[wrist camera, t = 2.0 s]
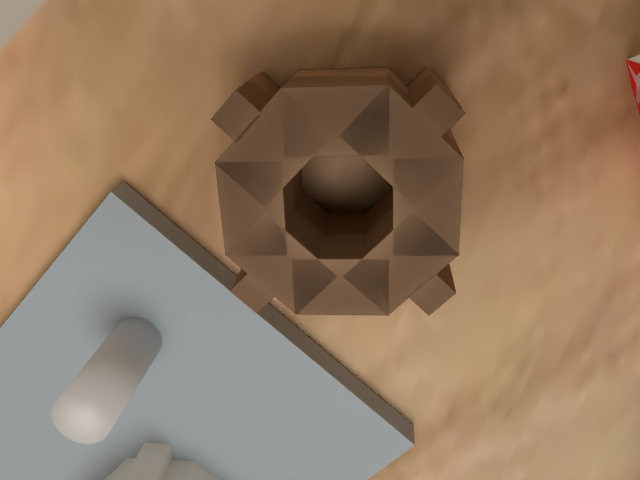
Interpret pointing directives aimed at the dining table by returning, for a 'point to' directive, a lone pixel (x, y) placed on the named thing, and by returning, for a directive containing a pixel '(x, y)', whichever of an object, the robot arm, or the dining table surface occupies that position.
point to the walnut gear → (341, 229)
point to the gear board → (173, 368)
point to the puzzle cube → (635, 76)
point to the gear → (158, 466)
